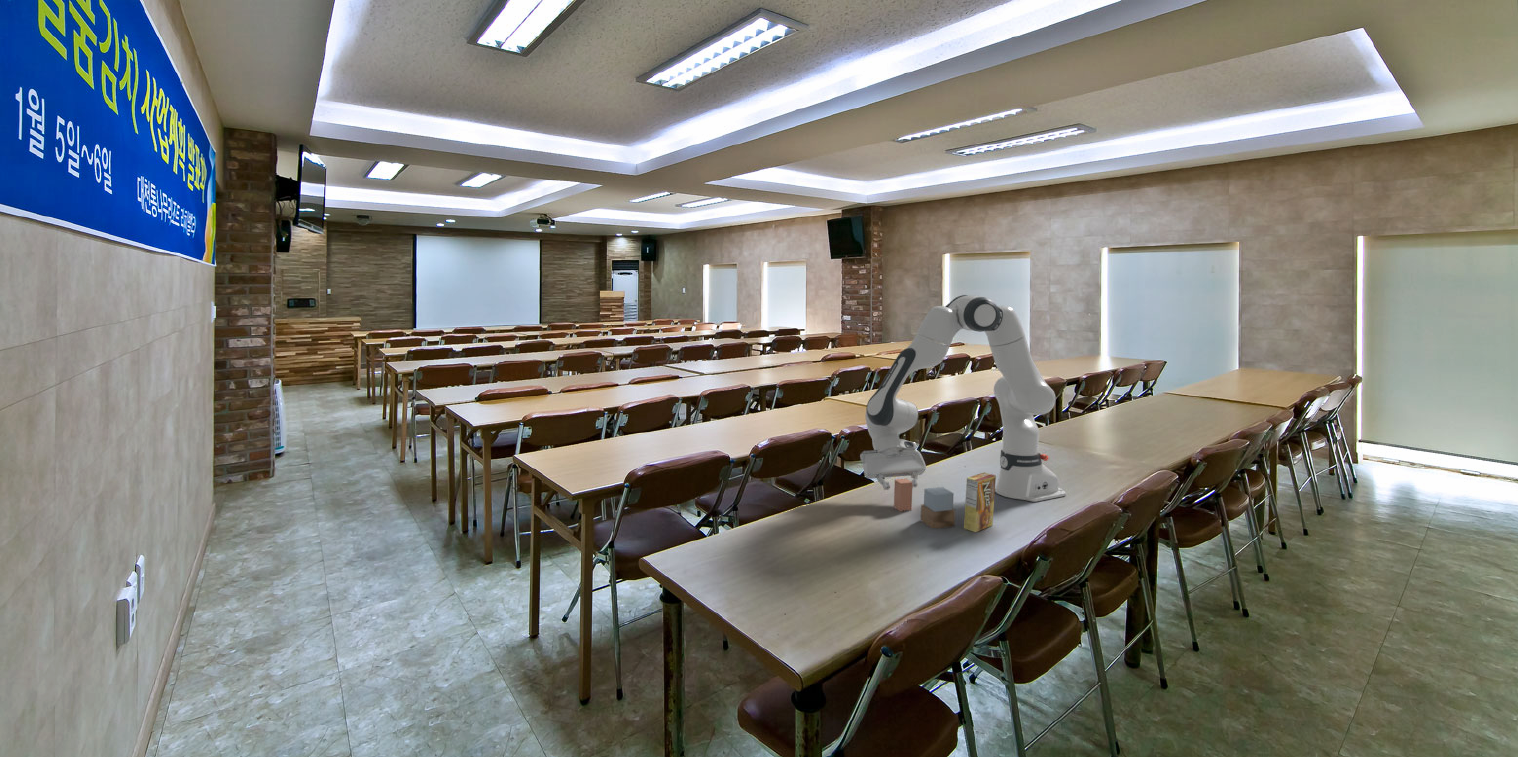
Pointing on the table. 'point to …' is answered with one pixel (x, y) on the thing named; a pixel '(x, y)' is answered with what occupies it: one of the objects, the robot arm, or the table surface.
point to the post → (903, 494)
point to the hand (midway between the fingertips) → (901, 487)
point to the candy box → (979, 501)
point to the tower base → (937, 517)
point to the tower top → (938, 499)
